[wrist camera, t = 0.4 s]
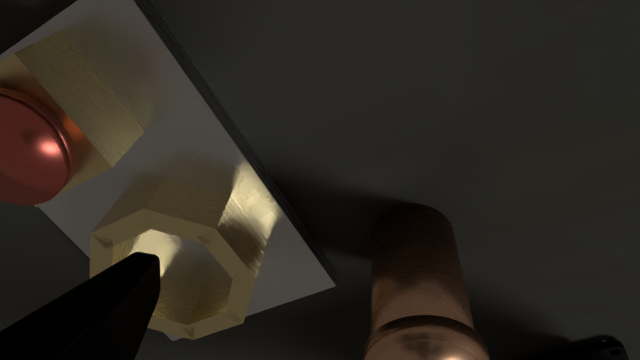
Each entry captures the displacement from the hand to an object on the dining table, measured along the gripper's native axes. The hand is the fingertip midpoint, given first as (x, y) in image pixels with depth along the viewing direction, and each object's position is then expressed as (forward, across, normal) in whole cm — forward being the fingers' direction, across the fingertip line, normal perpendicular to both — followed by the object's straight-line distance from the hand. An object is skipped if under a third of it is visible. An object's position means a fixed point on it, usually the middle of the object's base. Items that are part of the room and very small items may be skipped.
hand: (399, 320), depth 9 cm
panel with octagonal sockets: (+13, +10, +8) cm, 18 cm away
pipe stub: (+13, -3, +8) cm, 16 cm away
